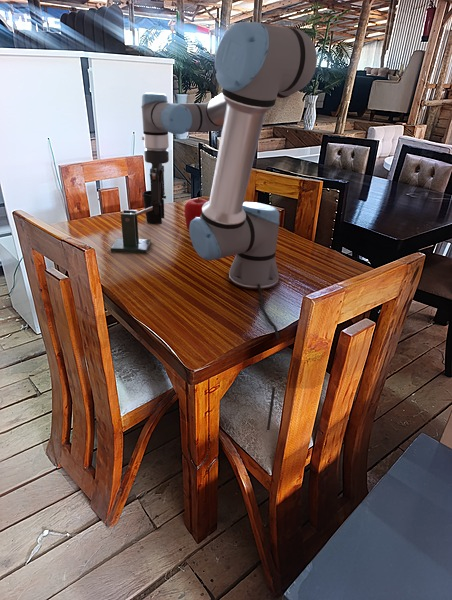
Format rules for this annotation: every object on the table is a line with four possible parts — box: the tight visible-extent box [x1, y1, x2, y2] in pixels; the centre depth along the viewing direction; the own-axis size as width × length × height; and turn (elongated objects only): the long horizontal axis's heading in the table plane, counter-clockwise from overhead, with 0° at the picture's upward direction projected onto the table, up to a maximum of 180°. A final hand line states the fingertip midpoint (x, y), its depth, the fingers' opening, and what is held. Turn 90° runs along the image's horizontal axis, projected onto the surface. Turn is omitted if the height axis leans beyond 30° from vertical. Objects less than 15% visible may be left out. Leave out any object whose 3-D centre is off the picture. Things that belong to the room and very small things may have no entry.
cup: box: [142, 190, 154, 225], centre depth 163 cm, size 8×8×12 cm
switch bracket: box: [110, 209, 152, 255], centre depth 137 cm, size 12×10×13 cm
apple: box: [183, 197, 209, 231], centre depth 154 cm, size 10×10×14 cm
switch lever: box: [128, 202, 162, 217], centre depth 134 cm, size 13×6×2 cm, turn 90°
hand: (159, 220), depth 136 cm, fingers closed on switch lever, 5 cm apart
